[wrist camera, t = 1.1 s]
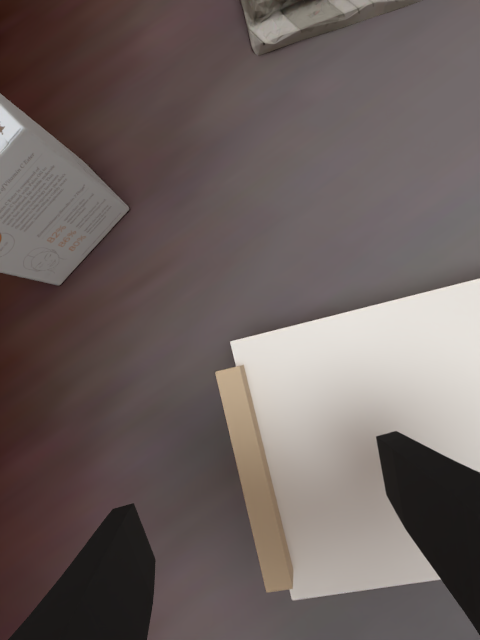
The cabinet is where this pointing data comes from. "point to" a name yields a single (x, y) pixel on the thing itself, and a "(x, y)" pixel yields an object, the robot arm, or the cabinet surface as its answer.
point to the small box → (47, 202)
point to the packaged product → (306, 18)
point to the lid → (349, 433)
